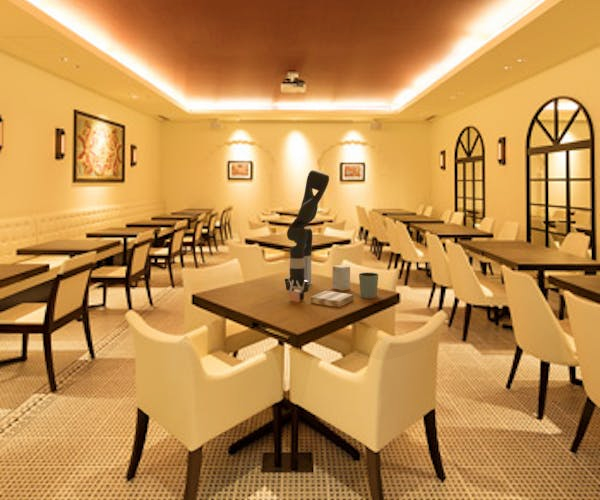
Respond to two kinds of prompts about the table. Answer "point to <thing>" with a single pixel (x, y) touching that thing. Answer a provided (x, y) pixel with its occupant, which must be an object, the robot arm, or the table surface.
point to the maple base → (332, 298)
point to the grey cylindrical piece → (368, 285)
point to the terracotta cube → (295, 296)
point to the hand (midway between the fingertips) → (296, 299)
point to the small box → (341, 277)
